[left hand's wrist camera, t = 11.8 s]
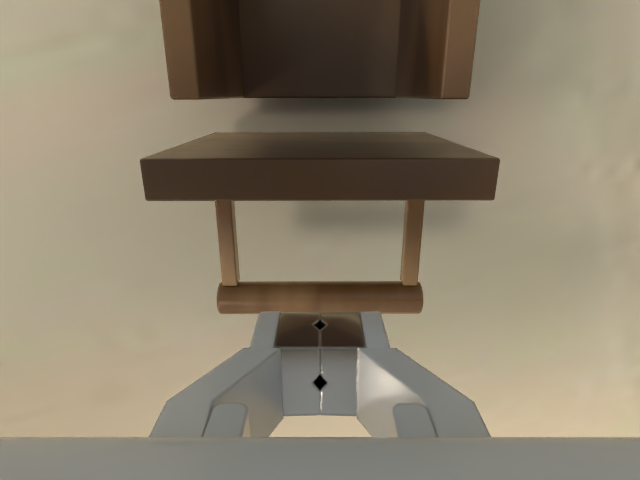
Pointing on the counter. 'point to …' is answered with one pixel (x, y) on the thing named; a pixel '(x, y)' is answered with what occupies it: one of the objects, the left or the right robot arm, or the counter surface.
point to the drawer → (319, 147)
